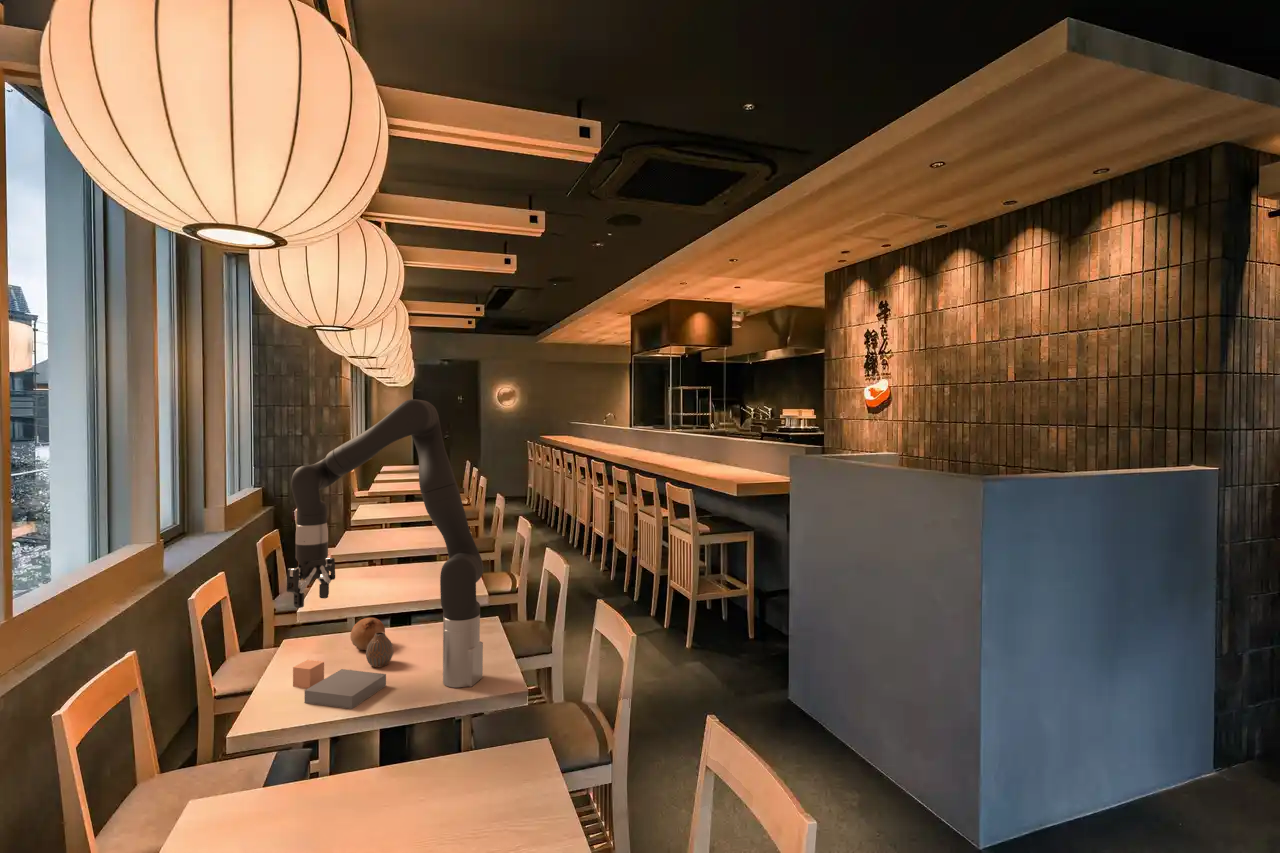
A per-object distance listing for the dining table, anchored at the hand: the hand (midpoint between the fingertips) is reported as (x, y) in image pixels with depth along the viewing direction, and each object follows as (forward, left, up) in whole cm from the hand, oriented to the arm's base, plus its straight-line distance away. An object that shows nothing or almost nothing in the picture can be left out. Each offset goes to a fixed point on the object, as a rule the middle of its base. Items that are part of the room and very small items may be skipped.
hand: (311, 602), depth 162 cm
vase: (-11, -12, -20) cm, 26 cm away
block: (-1, +3, -20) cm, 20 cm away
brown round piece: (0, -22, -20) cm, 30 cm away
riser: (-15, +6, -20) cm, 26 cm away
